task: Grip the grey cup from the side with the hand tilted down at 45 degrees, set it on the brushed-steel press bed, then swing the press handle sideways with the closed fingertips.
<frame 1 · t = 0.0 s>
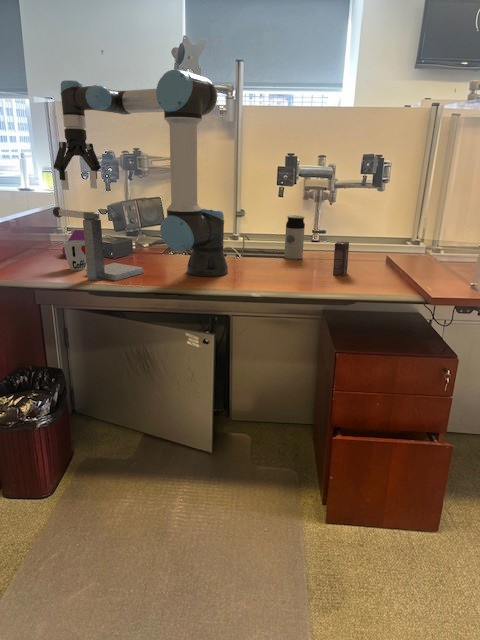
hand: (80, 189, 175), 28 cm above the table, tool pointing down, fingers open, 13 cm apart
box: (339, 274, 175), on the table
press: (115, 274, 166), on the table
travel mug: (293, 258, 202), on the table
lever: (75, 214, 155), point 21 cm above the table, hinge at 0.0°
cup: (77, 269, 172), on the table
mounting bracket: (80, 255, 197), on the table
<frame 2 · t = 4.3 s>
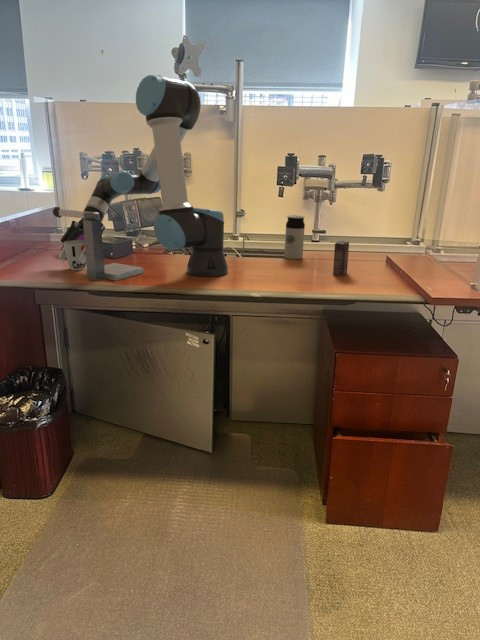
hand: (70, 260, 168), 4 cm above the table, tool tilted 45°, fingers closed on cup, 8 cm apart
cup: (77, 269, 172), on the table, touching gripper
everything else where it was.
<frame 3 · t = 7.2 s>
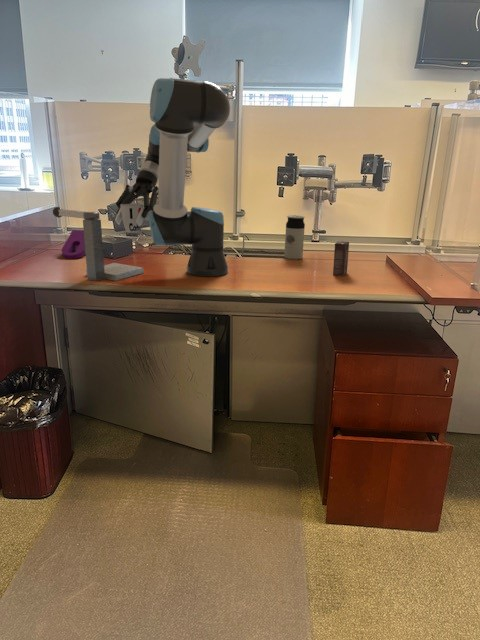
hand: (127, 223, 169), 17 cm above the table, tool tilted 45°, fingers closed on cup, 8 cm apart
cup: (133, 232, 173), point 13 cm above the table, touching gripper
everything else where it was.
when the fingers open (7 cm above the table, at t = 10.6 s): cup drops 1 cm, resting on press.
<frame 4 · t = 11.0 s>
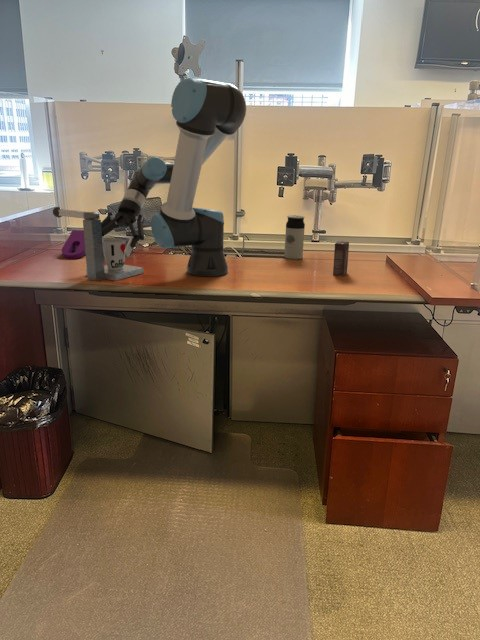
hand: (109, 252, 161), 8 cm above the table, tool tilted 45°, fingers open, 13 cm apart
cup: (115, 269, 165), point 2 cm above the table, touching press
everything else where it was.
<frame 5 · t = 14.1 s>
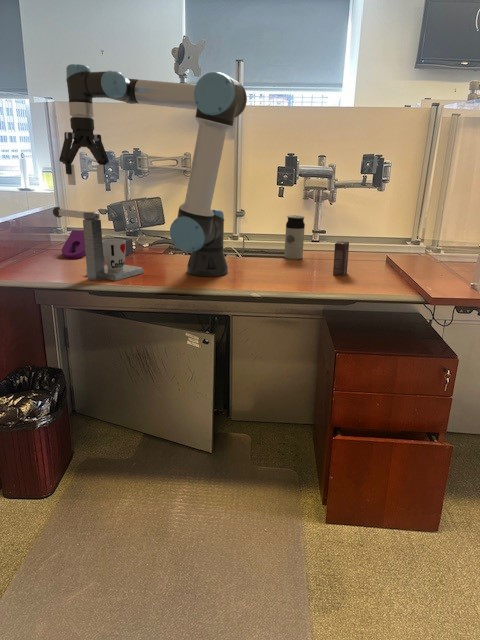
hand: (87, 184, 161), 30 cm above the table, tool pointing down, fingers open, 12 cm apart
nothing on the table moved.
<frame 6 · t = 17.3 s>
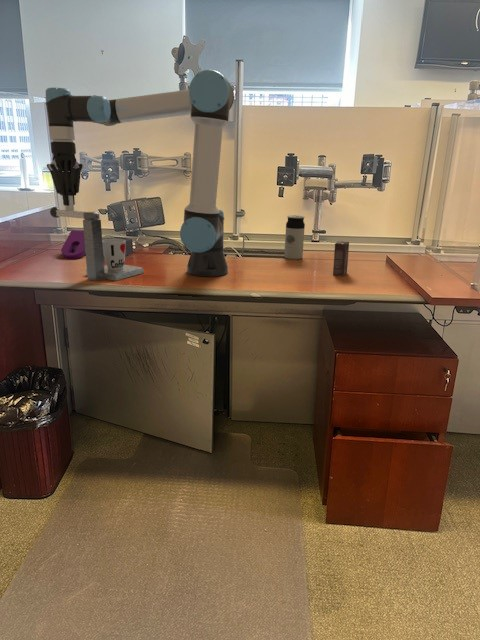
hand: (70, 215, 157), 21 cm above the table, tool pointing down, fingers closed
lever: (73, 214, 154), point 21 cm above the table, hinge at 4.2°, touching gripper
everything else where it was.
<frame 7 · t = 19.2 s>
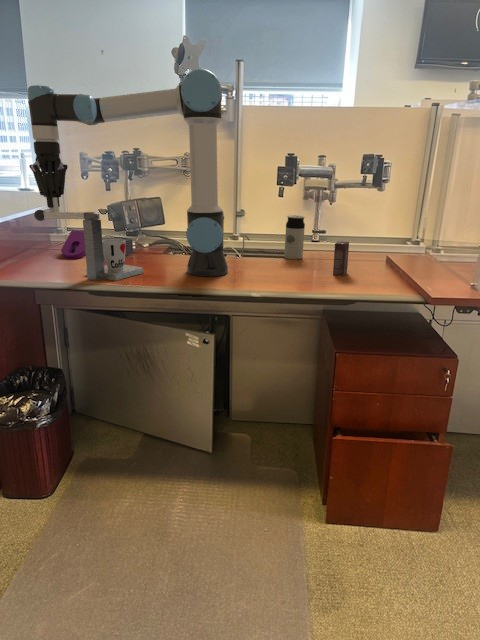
hand: (54, 217, 152), 20 cm above the table, tool pointing down, fingers closed
lever: (67, 215, 150), point 21 cm above the table, hinge at 38.3°, touching gripper
everything else where it was.
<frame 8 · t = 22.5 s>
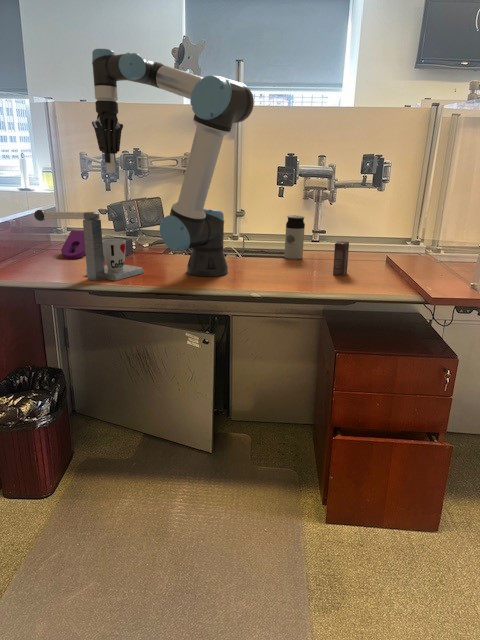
hand: (111, 172, 167), 34 cm above the table, tool pointing down, fingers closed
lever: (67, 215, 150), point 21 cm above the table, hinge at 38.3°
everything else where it was.
at the end: cup 0.1 cm from the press (horizontally); cup tilted 0°; lever at +38° (first picture: +0°) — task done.
